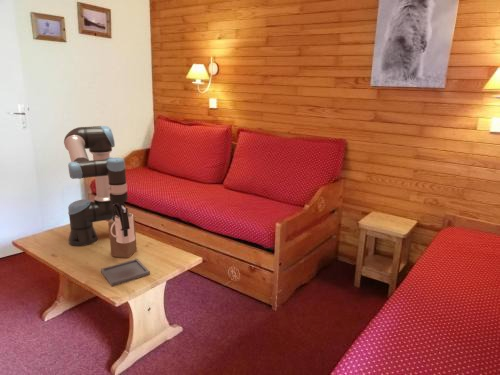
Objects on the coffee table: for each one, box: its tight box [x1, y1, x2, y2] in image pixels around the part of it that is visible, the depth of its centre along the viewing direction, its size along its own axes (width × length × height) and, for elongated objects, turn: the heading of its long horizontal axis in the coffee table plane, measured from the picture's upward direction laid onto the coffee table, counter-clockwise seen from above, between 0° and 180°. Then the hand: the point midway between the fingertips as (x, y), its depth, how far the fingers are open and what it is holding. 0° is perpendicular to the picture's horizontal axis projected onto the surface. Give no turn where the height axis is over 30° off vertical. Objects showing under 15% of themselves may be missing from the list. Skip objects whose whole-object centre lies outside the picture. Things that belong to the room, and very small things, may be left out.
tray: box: [100, 258, 151, 287], centre depth 178 cm, size 16×18×2 cm
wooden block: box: [107, 216, 138, 259], centre depth 196 cm, size 10×10×20 cm
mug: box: [111, 212, 135, 243], centre depth 172 cm, size 12×8×12 cm
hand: (122, 239), depth 173 cm, fingers closed on mug, 8 cm apart
